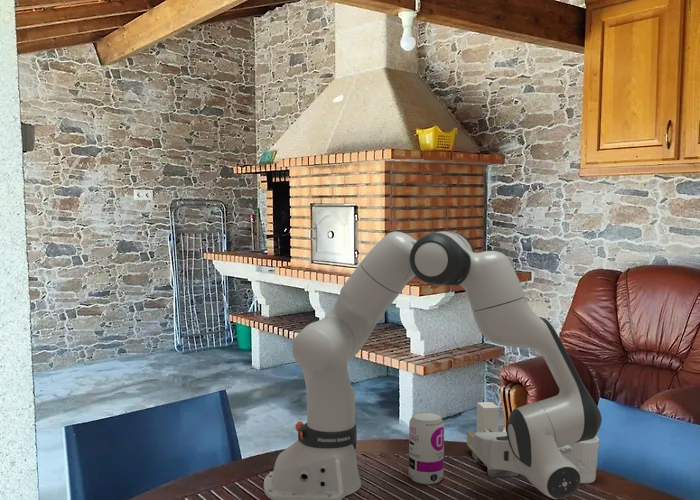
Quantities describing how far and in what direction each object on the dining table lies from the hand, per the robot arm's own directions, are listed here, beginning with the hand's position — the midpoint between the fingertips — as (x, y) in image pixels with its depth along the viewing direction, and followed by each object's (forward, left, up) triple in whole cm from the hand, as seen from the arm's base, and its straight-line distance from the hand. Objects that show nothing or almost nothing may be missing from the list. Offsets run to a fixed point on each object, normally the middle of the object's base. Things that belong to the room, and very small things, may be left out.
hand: (505, 431), depth 149 cm
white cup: (+18, -2, -12) cm, 22 cm away
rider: (0, +13, -7) cm, 15 cm away
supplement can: (-19, +2, -12) cm, 22 cm away
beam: (0, +9, -11) cm, 15 cm away
